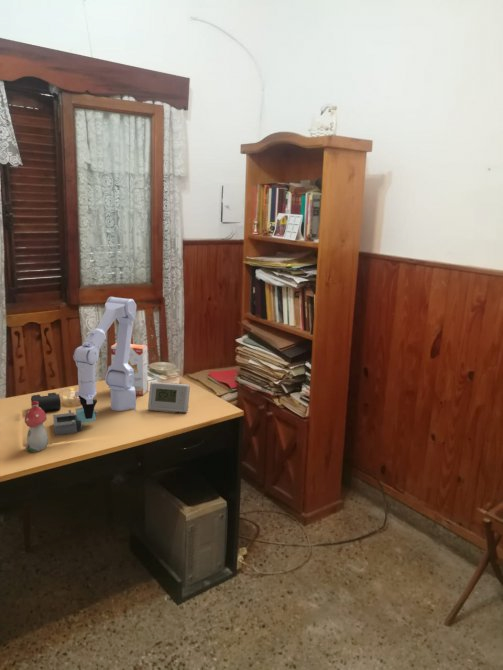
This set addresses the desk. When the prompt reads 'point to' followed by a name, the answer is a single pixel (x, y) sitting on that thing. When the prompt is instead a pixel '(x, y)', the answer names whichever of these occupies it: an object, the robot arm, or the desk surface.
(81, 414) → the teal rectangular block
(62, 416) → the port block
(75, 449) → the desk surface
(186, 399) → the digital clock
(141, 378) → the cracker box
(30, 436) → the decorative ornament
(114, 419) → the desk surface
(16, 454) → the desk surface
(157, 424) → the desk surface
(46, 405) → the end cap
